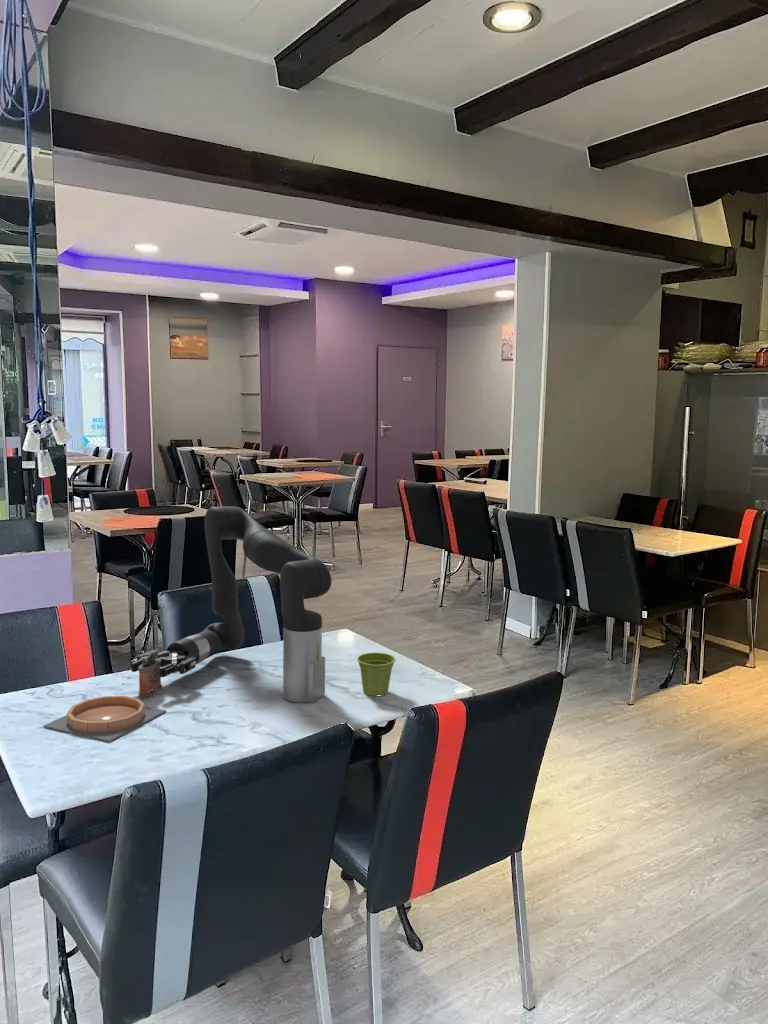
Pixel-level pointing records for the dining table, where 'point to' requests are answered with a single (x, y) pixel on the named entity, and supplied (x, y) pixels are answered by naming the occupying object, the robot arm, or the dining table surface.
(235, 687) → the dining table surface
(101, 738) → the mat
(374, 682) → the plant pot
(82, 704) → the dish
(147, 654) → the lighter
